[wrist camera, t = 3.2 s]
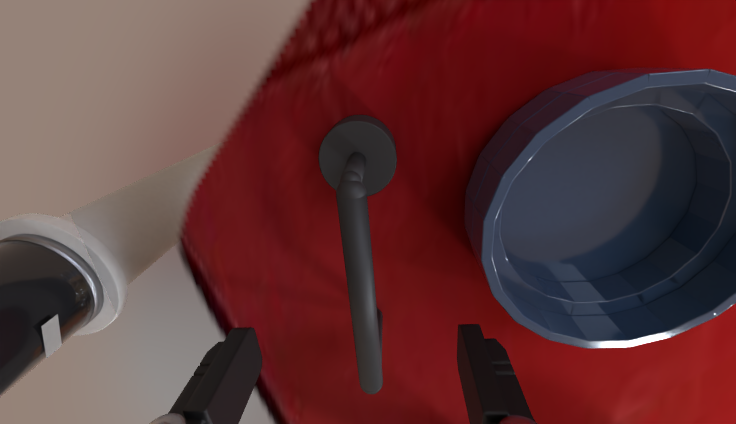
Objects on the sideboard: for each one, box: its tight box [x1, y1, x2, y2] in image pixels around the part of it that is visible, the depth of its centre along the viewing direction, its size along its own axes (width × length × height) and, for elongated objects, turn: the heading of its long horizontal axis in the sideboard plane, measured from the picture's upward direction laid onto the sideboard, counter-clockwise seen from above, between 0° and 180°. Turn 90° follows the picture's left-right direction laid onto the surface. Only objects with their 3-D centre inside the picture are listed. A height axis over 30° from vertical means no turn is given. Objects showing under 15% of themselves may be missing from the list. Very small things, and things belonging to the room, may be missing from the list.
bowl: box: [464, 68, 736, 348], centre depth 19 cm, size 15×15×5 cm
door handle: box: [319, 115, 397, 394], centre depth 20 cm, size 15×4×7 cm, turn 5°
